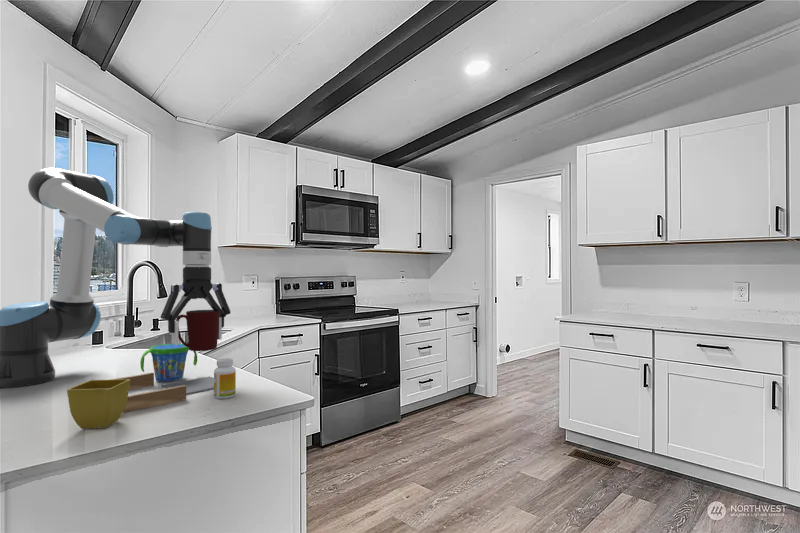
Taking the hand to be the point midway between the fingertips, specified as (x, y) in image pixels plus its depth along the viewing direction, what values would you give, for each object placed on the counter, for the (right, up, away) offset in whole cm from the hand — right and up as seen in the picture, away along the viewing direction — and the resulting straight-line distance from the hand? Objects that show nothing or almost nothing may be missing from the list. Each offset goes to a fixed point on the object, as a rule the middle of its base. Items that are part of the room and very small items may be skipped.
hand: (197, 341), depth 133 cm
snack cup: (-12, -13, +8) cm, 19 cm away
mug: (0, -3, 0) cm, 3 cm away
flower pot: (-7, -13, -33) cm, 36 cm away
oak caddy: (-11, -13, -13) cm, 21 cm away
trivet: (0, -13, 0) cm, 13 cm away
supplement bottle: (+12, -13, -11) cm, 21 cm away
